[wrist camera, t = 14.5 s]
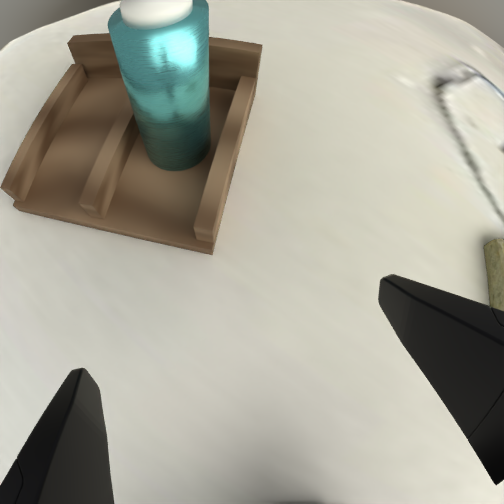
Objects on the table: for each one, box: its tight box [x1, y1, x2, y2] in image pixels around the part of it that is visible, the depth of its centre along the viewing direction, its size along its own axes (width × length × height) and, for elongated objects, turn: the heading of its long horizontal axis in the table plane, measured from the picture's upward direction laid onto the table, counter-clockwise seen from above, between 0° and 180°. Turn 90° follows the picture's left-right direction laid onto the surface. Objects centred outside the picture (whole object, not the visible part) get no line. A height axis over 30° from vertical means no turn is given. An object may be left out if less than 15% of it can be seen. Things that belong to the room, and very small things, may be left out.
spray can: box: [108, 0, 211, 171], centre depth 18 cm, size 5×5×14 cm
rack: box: [0, 33, 262, 255], centre depth 22 cm, size 16×18×6 cm
